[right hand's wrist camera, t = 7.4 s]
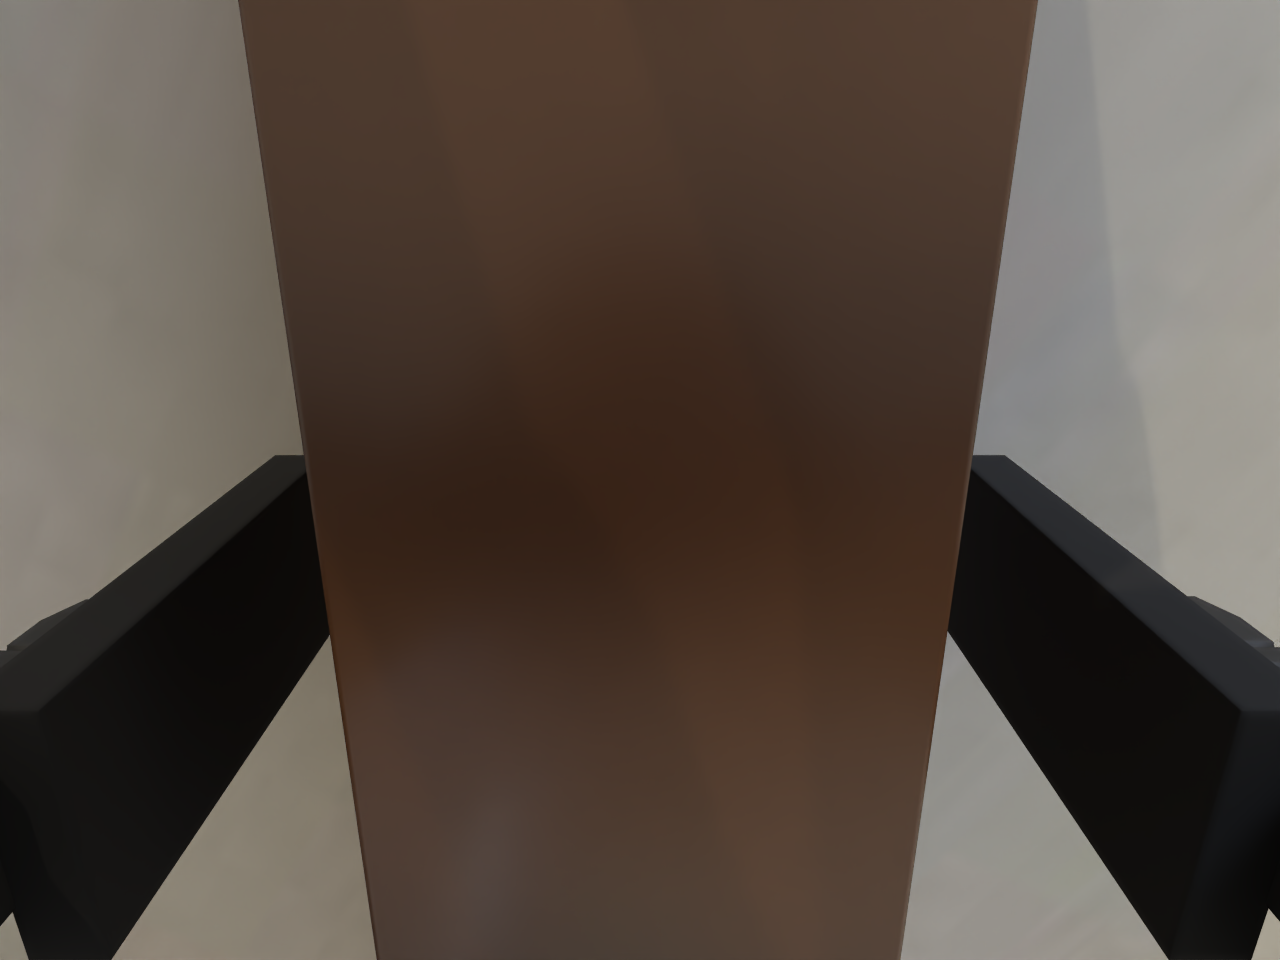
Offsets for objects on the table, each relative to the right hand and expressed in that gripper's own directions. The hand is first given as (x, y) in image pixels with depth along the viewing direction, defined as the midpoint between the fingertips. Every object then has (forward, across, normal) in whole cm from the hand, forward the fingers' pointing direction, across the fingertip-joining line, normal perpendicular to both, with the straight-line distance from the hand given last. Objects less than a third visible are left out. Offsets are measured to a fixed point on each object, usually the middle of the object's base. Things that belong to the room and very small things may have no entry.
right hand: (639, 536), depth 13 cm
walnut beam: (+2, 0, -9) cm, 9 cm away
